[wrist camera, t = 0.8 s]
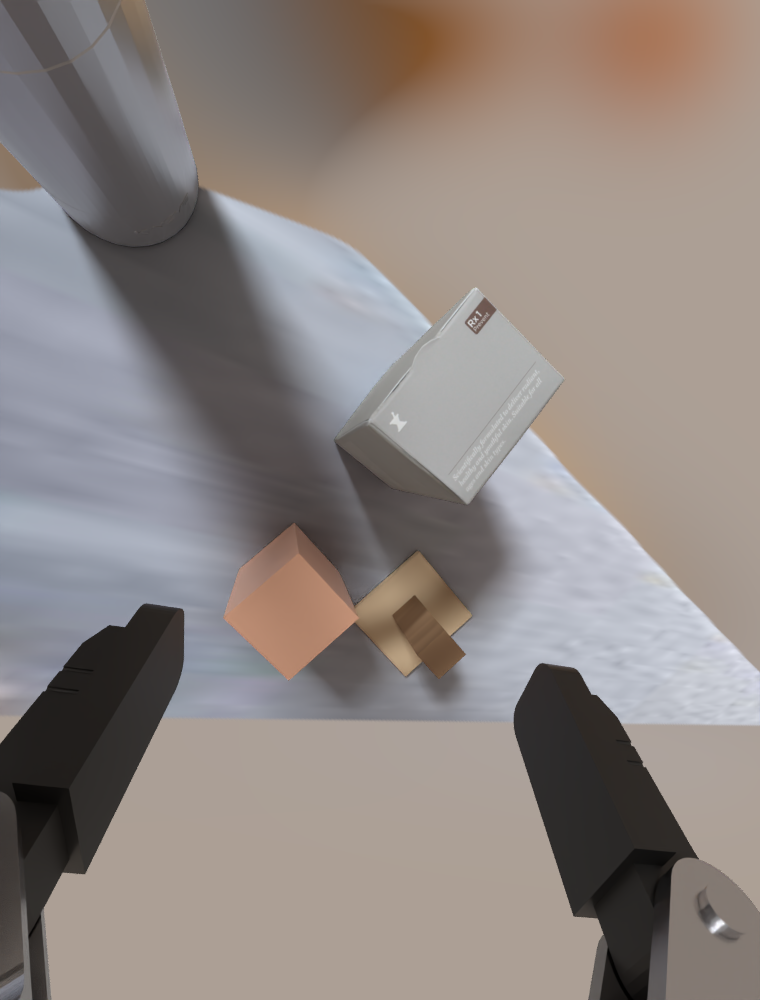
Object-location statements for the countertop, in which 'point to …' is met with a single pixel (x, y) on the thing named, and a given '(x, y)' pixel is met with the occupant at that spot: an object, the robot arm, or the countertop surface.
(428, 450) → the skincare box
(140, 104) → the robot arm
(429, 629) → the wooden peg stand
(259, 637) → the tan rectangular prism
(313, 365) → the countertop surface
